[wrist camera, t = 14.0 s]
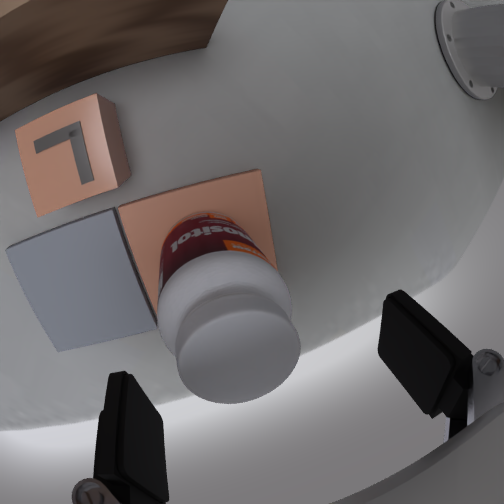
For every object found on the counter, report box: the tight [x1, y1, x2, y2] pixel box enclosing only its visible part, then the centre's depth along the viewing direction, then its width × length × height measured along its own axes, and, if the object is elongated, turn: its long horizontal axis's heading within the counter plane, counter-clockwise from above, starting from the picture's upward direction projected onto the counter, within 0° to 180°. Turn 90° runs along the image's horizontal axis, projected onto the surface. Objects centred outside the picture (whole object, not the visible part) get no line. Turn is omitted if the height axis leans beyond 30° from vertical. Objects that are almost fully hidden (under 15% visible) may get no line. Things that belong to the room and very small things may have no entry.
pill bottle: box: [157, 212, 300, 404], centre depth 15 cm, size 6×6×11 cm
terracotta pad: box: [118, 169, 278, 314], centre depth 20 cm, size 10×10×1 cm
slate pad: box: [5, 207, 157, 352], centre depth 19 cm, size 10×10×1 cm
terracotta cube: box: [15, 93, 131, 217], centre depth 14 cm, size 5×5×5 cm
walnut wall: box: [0, 0, 228, 121], centre depth 8 cm, size 18×1×12 cm, turn 101°
